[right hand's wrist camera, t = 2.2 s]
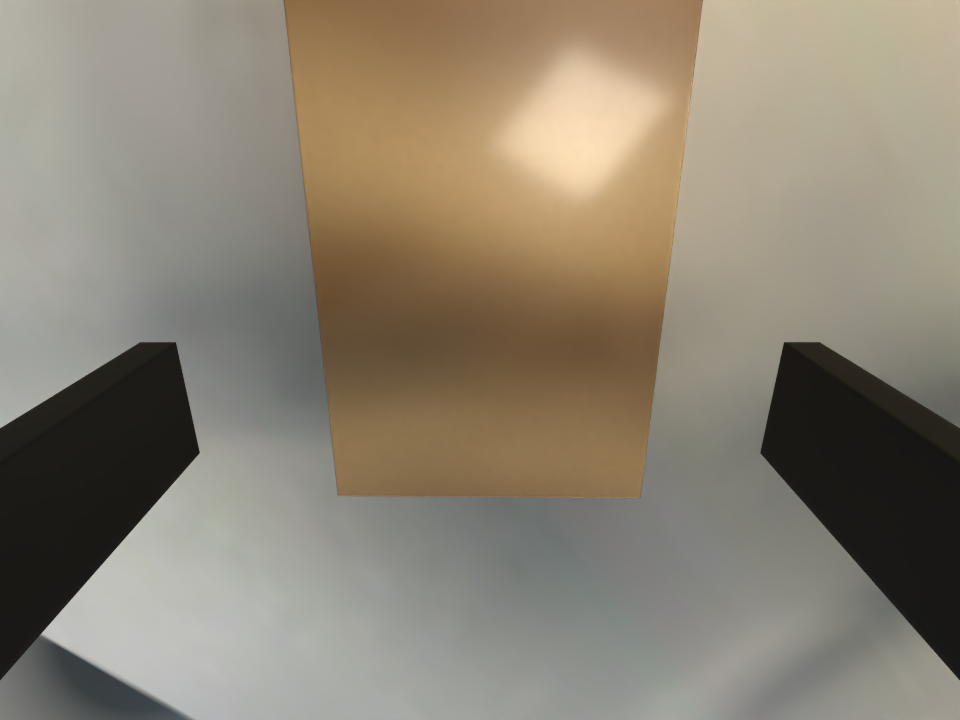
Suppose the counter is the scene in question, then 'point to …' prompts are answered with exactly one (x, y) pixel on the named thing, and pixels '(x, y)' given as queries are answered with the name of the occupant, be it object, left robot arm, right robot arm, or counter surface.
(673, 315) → the counter surface
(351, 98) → the thick board
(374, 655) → the counter surface
